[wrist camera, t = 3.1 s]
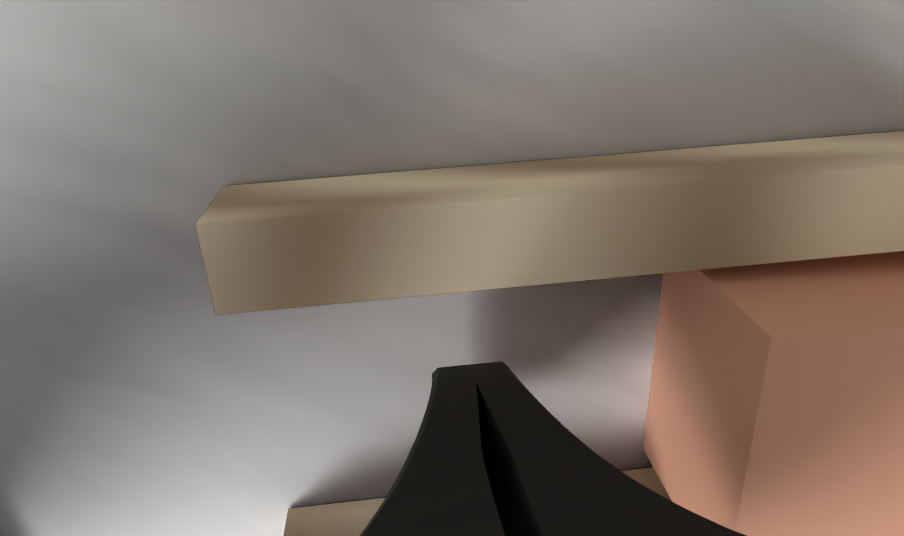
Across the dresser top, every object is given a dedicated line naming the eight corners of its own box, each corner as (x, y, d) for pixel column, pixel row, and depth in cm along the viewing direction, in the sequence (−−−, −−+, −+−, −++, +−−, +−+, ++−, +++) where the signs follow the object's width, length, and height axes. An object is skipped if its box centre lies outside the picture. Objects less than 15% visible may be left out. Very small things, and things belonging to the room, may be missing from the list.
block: (640, 444, 15) (722, 592, 12) (663, 236, 13) (771, 337, 10) (891, 424, 16) (1046, 560, 12) (950, 221, 14) (1157, 310, 10)
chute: (298, 559, 15) (279, 697, 12) (224, 185, 12) (172, 255, 9) (924, 485, 16) (1044, 596, 13) (1030, 120, 13) (1224, 164, 10)
